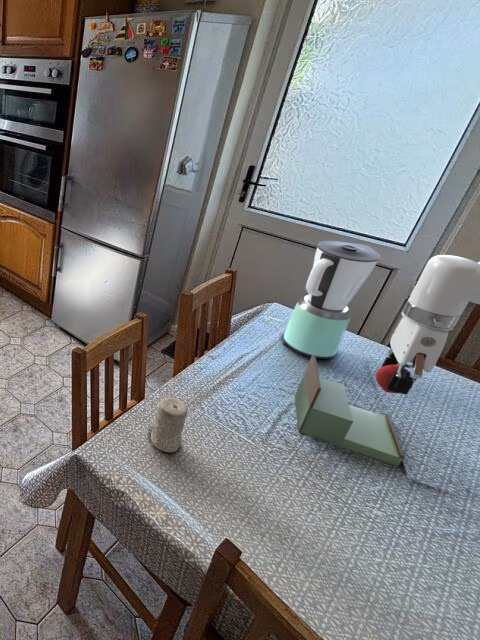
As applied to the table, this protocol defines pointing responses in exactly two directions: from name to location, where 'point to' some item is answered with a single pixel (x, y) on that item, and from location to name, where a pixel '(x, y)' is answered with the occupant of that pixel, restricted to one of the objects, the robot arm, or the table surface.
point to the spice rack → (343, 419)
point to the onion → (387, 376)
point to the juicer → (329, 298)
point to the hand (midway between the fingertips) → (392, 381)
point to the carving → (168, 424)
